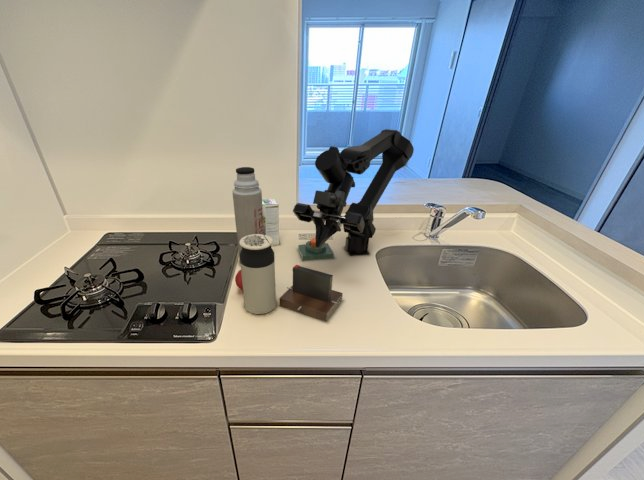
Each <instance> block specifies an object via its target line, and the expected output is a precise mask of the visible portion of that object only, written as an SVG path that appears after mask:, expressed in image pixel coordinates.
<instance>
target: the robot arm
mask: <svg viewBox="0 0 644 480" xmlns="http://www.w3.org/2000/svg"><path fill="white" fill-rule="evenodd" d="M401 133H402V132H400V130H399V131H398V130H397V129H391V128H390V129H389V128H385V129H381V131H380V133H378V134H377V135H375V136H373V137H372V138H370V139H369V140H367V141H365V142H364V143H363V144H359V145H353V146H348V147H345V148H343V149H342V150H341V151H340V150H339V148H338V146H333V145H331V146H329V148H328V149H327V150H324V151H323V152H321V153H320V154H319V155H317V156H316V158H315V162H314V166H315V168H316V169H317V171H318V173H319V174H320V176H321V177H322V178H323V180H324V181H325V182H326V183H327V184H328V187H327V189H324V190H323V191H322V190H315V192H314V197H313V202H312V204H313V205H316V208H317V210H316V209H313V208H312V207H311V205H310V204H308V203H307V204H306V203H302V202H298V203H296V204H295V205H294V206H293V209H292V212H293V214H294V215H295V217H296V218H297V219H298V221H300V222H305V223H311V222H313V224H314V226H315V238H316V247H317V248H320V247H321V246H322V245H323V244H324V243H327V241H328V240H329V239H330V238H331V237H332V236H334V235H335V234H336V233H339V232H342V226H343V232H344V233H347V236H346V237H345V243H344V250H345V251H346V252H347V254H348V255H349V256H351V257H352V256H363V255H364V256H365V255H369V254H370V252H369V250H368V249H369V242H370V239H373V238H374V237H373V236H374V235H375V232H376V229H377V228H376V226H375V225H374V223H373V222H374V210H375V208H376V206H377V204H378V203H379V201H380V199H381V198H382V196H383V195H384V193H385V190H386V189H387V187H388V186H389V184H390V182H391V180H392V178H393V177H394V176H395V173H396V172H397V171H399V170H400V169H402V168H405V166H406V165H407V163H408V162H409V160H410V159H411V158H412V156H413V155H414V151H415V150H414V146H413V144H412V142H411V141H410V140H409V139H408V138H407V137H405V136H404V135H402V134H401ZM380 155H381V159H382V163H381V164H380V166H379V168H378V170H377V172H376V173H375V175H374V176H373V178H372V180H371V182H370V183H369V185H368V187H367V189H366V190H365V191H364V193H363V195H362V197H361V198H360V200H359V202H352V203H351V204H350V205H349V207H348V208H347V211H345V215H342V213H343V211H344V208H346V206H347V199H348V198H349V195H350V192H351V189H352V188H355V187H356V182H355V179H354V176H352V174H356V175H363V174H364V173H365V172H366V171H367V170H369V168H370V166H371V162H372V161H373V160H374V159H375V158H377V157H378V156H380Z"/></svg>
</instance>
